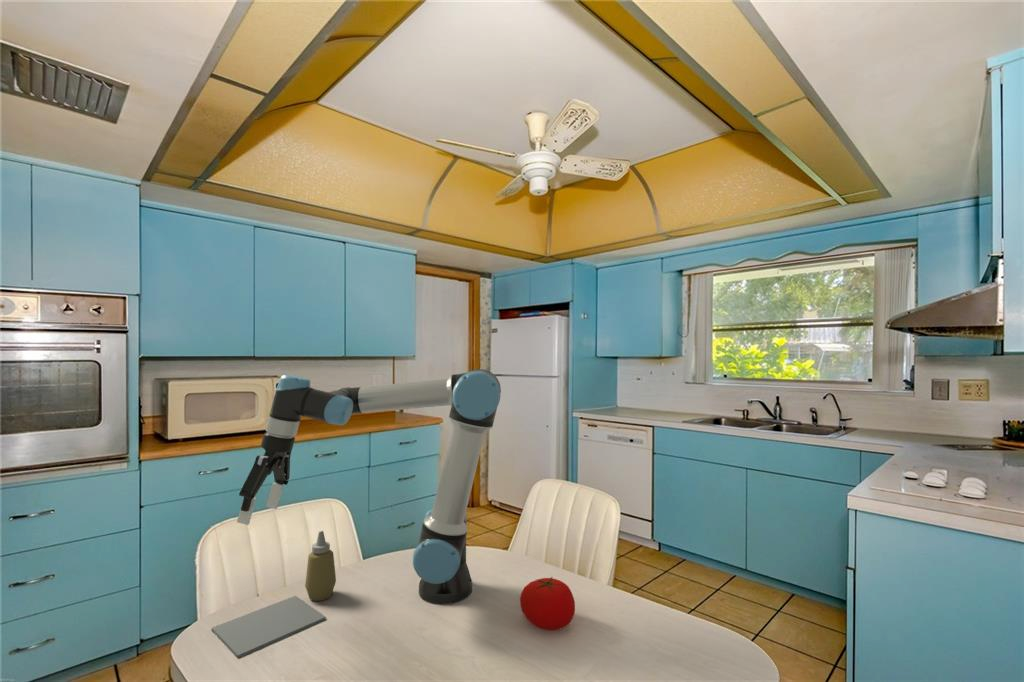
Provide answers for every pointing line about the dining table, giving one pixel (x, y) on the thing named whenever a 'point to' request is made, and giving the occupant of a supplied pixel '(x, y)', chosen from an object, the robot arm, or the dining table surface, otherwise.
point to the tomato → (548, 603)
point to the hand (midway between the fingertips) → (257, 515)
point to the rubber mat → (266, 625)
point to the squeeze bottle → (320, 570)
